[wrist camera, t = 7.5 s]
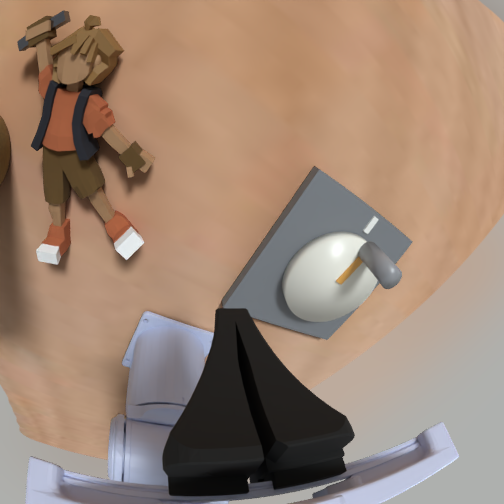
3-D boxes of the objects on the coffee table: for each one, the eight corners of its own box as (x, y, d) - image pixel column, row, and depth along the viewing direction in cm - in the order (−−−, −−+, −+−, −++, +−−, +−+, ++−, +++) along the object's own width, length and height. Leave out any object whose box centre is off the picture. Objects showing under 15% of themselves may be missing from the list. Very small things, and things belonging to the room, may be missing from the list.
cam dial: (327, 324, 28) (345, 362, 24) (261, 292, 24) (274, 337, 20) (392, 258, 25) (421, 291, 21) (335, 207, 21) (369, 241, 17)
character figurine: (53, 244, 20) (35, 271, 16) (37, 31, 10) (9, 25, 7) (155, 241, 22) (149, 270, 18) (157, 4, 12) (147, -15, 9)
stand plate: (324, 333, 31) (327, 340, 30) (221, 300, 25) (222, 308, 24) (407, 236, 25) (413, 242, 24) (314, 165, 20) (320, 170, 19)
